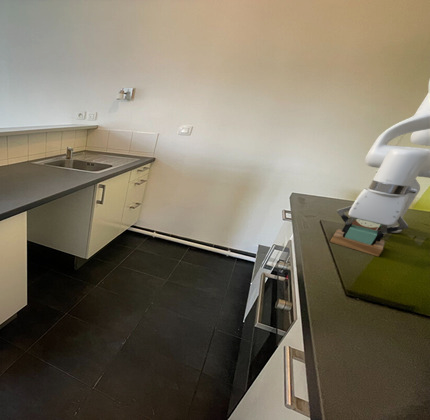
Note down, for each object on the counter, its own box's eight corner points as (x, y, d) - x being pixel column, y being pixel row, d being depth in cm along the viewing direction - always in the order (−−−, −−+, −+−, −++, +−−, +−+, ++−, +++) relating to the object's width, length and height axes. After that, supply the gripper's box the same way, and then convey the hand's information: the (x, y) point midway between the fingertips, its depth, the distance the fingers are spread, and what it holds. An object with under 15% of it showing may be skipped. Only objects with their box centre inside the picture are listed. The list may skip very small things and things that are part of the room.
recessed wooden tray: (334, 234, 92) (338, 228, 91) (380, 247, 84) (384, 241, 83) (329, 241, 86) (333, 235, 85) (378, 256, 78) (382, 249, 77)
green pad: (346, 234, 88) (351, 224, 87) (371, 241, 84) (378, 231, 82) (343, 238, 85) (349, 228, 83) (370, 246, 80) (376, 235, 79)
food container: (395, 240, 90) (411, 215, 86) (375, 238, 91) (390, 213, 87) (363, 226, 101) (376, 204, 97) (346, 224, 102) (358, 202, 98)
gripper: (434, 194, 73) (399, 246, 80) (349, 180, 86) (325, 226, 93) (435, 198, 69) (399, 252, 76) (346, 183, 82) (321, 231, 88)
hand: (358, 237), depth 84 cm, fingers closed on green pad, 5 cm apart
